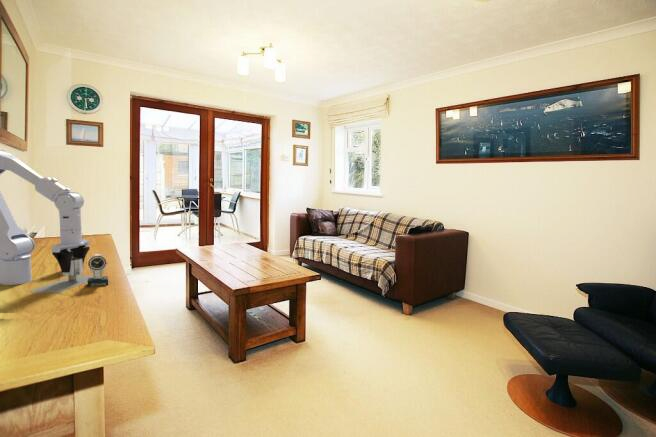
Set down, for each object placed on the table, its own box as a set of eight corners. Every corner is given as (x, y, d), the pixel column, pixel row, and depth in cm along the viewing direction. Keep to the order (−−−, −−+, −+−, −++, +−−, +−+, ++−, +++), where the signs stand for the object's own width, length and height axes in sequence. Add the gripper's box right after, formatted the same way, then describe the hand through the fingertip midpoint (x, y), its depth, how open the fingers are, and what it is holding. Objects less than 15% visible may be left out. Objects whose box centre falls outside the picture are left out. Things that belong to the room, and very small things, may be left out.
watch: (87, 292, 111) (86, 257, 110) (88, 285, 118) (87, 252, 117) (108, 290, 114) (107, 255, 113) (108, 283, 121) (107, 251, 120)
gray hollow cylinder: (59, 275, 116) (58, 260, 116) (70, 271, 122) (70, 257, 121) (75, 276, 116) (74, 260, 116) (86, 272, 122) (85, 257, 121)
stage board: (27, 295, 107) (27, 291, 106) (76, 278, 126) (75, 275, 126) (57, 296, 106) (57, 292, 106) (101, 279, 126) (101, 276, 126)
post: (67, 281, 118) (66, 270, 118) (71, 279, 120) (71, 269, 120) (73, 281, 118) (73, 271, 118) (78, 280, 120) (78, 269, 120)
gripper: (66, 232, 111) (68, 275, 112) (97, 227, 125) (98, 265, 126) (43, 232, 111) (45, 275, 112) (77, 226, 125) (78, 265, 126)
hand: (72, 270), depth 119 cm, fingers closed on gray hollow cylinder, 5 cm apart
